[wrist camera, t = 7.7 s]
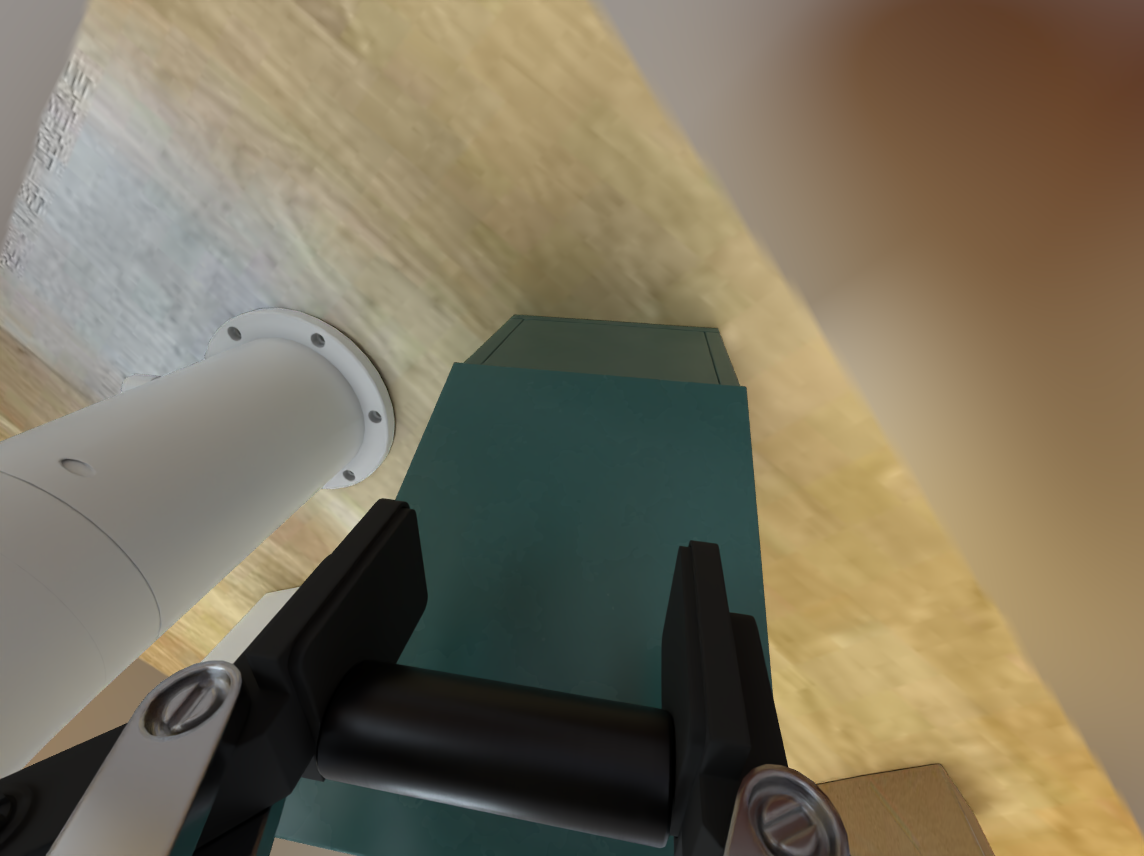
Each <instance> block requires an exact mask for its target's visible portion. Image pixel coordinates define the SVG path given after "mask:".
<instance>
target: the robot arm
mask: <svg viewBox="0 0 1144 856" xmlns="http://www.w3.org/2000/svg"><path fill="white" fill-rule="evenodd" d="M121 391H122V393H120V394H117V395H115V396H112V397H110V398H107V399H105V400H102V401H100V402H97V403H95V404H92V405H90V406H87V407H85V408H82V409H80V410H77V411H75V412H72V413H70V414H67V415H65V416H62V417H60V418H58V419H55V420H53V421H50V422H48V423H45V424H43V425H40V426H38V427H35V428H33V429H30V430H28V431H25V432H23V433H20V434H18V435H15V436H13V437H10V438H8V439H5V440H3V441H0V856H269V855H270V851H271V848H272V845H273V841H274V838H275V835H276V831H277V828H278V824H279V821H280V817H281V814H282V811H283V807H284V804H285V800H286V797H287V796H288V795H290V794H291V793H292V792H293V790H294V788H295V787H296V785H297V783H298V781H299V780H300V778H301V777H302V778H307V779H311V780H316V781H321V782H324V781H325V778H324V777H323V776H322V775H321V774H320V773H319V771H318V768H317V764H316V746H317V739H318V734H319V730H320V726H321V723H322V720H323V717H324V714H325V711H326V709H327V706H328V704H329V702H330V700H331V698H332V696H333V694H334V692H335V690H336V688H337V686H338V685H339V683H340V682H341V680H342V679H343V677H344V676H345V675H346V673H347V672H348V671H349V670H350V669H351V668H352V667H353V666H354V665H356V664H357V663H359V662H361V661H364V660H368V659H371V660H377V661H383V662H389V663H395V664H396V663H397V661H398V659H399V657H400V656H401V654H402V652H403V650H404V648H405V646H406V644H407V643H408V641H409V639H410V637H411V635H412V633H413V631H414V630H415V628H416V626H417V624H418V622H419V620H420V618H421V617H422V615H423V613H424V611H425V608H426V605H427V601H428V592H427V585H426V578H425V571H424V564H423V557H422V550H421V543H420V536H419V529H418V521H417V515H416V511H415V510H414V509H410V506H409V504H408V503H407V502H405V501H398V500H391V499H383V498H382V499H379V500H378V501H377V502H376V503H375V504H374V505H373V506H372V508H371V509H370V510H369V511H368V512H367V513H366V514H365V516H364V517H363V518H362V519H361V520H360V521H359V523H358V524H357V525H356V526H355V527H354V528H353V529H352V531H351V532H350V533H349V534H348V535H347V536H346V538H345V539H344V540H343V541H342V542H341V543H340V544H339V546H338V547H337V548H336V549H335V550H334V551H333V553H332V554H330V555H329V556H327V557H326V558H325V559H324V560H323V561H322V562H321V563H320V565H319V566H318V567H317V568H316V569H315V570H314V571H313V573H312V574H311V575H310V576H309V577H308V578H307V579H306V581H305V582H304V583H303V584H302V585H301V586H300V587H299V589H298V590H297V591H296V592H295V593H294V594H293V595H292V597H291V598H290V599H289V600H288V601H287V602H286V603H285V605H284V606H283V607H282V608H281V609H280V610H279V611H278V613H277V614H276V615H275V616H274V617H273V618H272V619H271V621H270V622H269V623H268V624H267V625H266V626H265V627H264V629H263V630H262V631H261V632H260V633H259V634H258V635H257V637H256V638H255V639H254V640H253V641H252V642H251V644H250V645H249V646H248V647H247V648H246V649H245V650H244V652H243V653H242V654H241V655H240V656H239V657H238V658H237V660H236V661H235V662H234V663H233V664H232V663H229V662H226V661H206V662H201V663H197V664H194V665H191V666H189V667H187V668H184V669H182V670H180V671H178V672H176V673H175V674H173V675H171V676H170V677H168V678H167V679H165V680H164V681H162V682H161V683H160V684H159V685H157V686H156V687H155V688H154V689H153V690H152V691H151V692H150V693H148V694H147V696H146V697H145V699H144V700H143V701H142V702H141V704H140V705H139V706H138V707H137V709H136V710H135V712H134V714H133V715H132V717H131V719H130V720H129V722H128V723H126V724H124V725H122V726H119V727H117V728H115V729H113V730H110V731H108V732H106V733H103V734H101V735H99V736H97V737H94V738H92V739H90V740H88V741H85V742H83V743H81V744H79V745H76V746H74V747H72V748H69V749H67V750H65V751H63V752H60V753H58V754H56V755H54V756H51V757H49V758H47V759H45V760H42V761H40V762H38V763H35V764H33V765H31V766H29V767H27V768H24V769H22V768H23V767H24V766H25V765H26V764H27V763H28V762H29V761H30V760H31V759H32V758H33V757H34V756H35V755H36V754H37V753H38V752H39V751H40V750H41V749H42V748H43V747H44V746H45V745H46V744H47V743H48V742H49V741H50V740H51V739H52V738H53V737H54V736H55V735H56V734H57V733H58V732H59V731H60V730H61V729H62V728H63V727H64V726H65V725H66V724H68V723H69V722H70V721H71V720H72V719H73V718H74V717H75V716H76V715H77V714H78V713H79V712H80V711H81V710H82V709H83V708H84V707H85V706H86V705H87V704H88V703H89V702H91V701H92V700H93V699H94V698H95V697H96V696H97V695H98V694H99V693H100V692H101V691H102V690H103V689H104V688H105V687H106V686H107V685H109V684H110V683H111V682H112V681H113V680H114V679H115V678H116V677H117V676H118V675H119V674H120V673H121V672H123V671H124V670H125V669H126V668H127V667H128V666H129V665H130V664H131V663H132V662H133V661H134V660H136V659H137V658H138V657H139V656H140V655H141V654H142V653H143V652H144V651H145V650H146V649H147V648H149V647H150V646H151V645H152V644H153V643H154V642H155V641H156V640H157V639H158V638H159V637H160V636H162V635H163V634H164V633H165V632H166V631H167V630H168V629H169V628H170V627H171V626H172V625H173V624H175V623H176V622H177V621H178V620H179V619H180V618H181V617H182V616H183V615H184V614H185V613H186V612H188V611H189V610H190V609H191V608H192V607H193V606H194V605H195V604H196V603H197V602H198V601H199V600H201V599H202V598H203V597H204V596H205V595H206V594H207V593H208V592H209V591H210V590H211V589H212V588H214V587H215V586H216V585H217V584H218V583H219V582H220V581H221V580H222V579H223V578H224V577H225V576H227V575H228V574H229V573H230V572H231V571H232V570H233V569H234V568H235V567H236V566H237V565H239V564H240V563H241V562H242V561H243V560H244V559H245V558H246V557H247V556H248V555H249V554H250V553H252V552H253V551H254V550H255V549H256V548H257V547H258V546H259V545H260V544H261V543H262V542H263V541H265V540H266V539H267V538H268V537H269V536H270V535H271V534H272V533H273V532H274V531H275V530H276V529H278V528H279V527H280V526H281V525H282V524H283V523H284V522H285V521H286V520H287V519H288V518H289V517H291V516H292V515H293V514H294V513H295V512H296V511H297V510H298V509H299V508H300V507H301V506H302V505H304V504H305V503H306V502H307V501H308V500H309V499H310V498H311V497H312V496H313V495H314V494H315V493H317V492H318V491H319V490H320V489H338V488H344V487H349V486H351V485H354V484H357V483H359V482H361V481H363V480H364V479H365V478H367V477H368V476H370V475H371V474H372V473H373V472H374V471H375V470H376V469H377V468H378V467H379V466H380V465H381V464H382V462H383V461H384V459H385V458H386V456H387V455H388V453H389V451H390V448H391V445H392V442H393V438H394V427H395V422H394V413H393V407H392V403H391V400H390V397H389V394H388V391H387V389H386V387H385V385H384V383H383V381H382V379H381V377H380V375H379V373H378V371H377V370H376V369H375V367H374V366H373V364H372V363H371V362H370V360H369V359H368V357H367V356H366V355H365V354H364V353H363V352H362V351H361V350H360V349H359V348H358V347H357V346H356V345H355V344H354V343H353V342H352V341H351V340H350V339H349V338H347V337H346V336H345V335H343V334H342V333H341V332H340V331H338V330H337V329H336V328H334V327H332V326H331V325H329V324H327V323H325V322H323V321H322V320H320V319H318V318H316V317H313V316H310V315H308V314H305V313H302V312H299V311H295V310H289V309H284V308H261V309H258V310H254V311H251V312H247V313H244V314H241V315H239V316H236V317H234V318H232V319H229V320H228V321H227V322H226V323H224V324H223V325H222V326H221V327H220V328H218V329H217V331H216V332H215V334H214V335H213V337H212V338H211V340H210V341H209V344H208V347H207V350H206V353H205V359H204V360H202V361H199V362H197V363H194V364H192V365H189V366H187V367H184V368H182V369H179V370H177V371H174V372H172V373H169V374H167V375H164V376H154V375H143V374H133V375H130V376H128V377H127V378H126V379H125V380H124V381H123V383H122V387H121ZM661 702H662V709H665V710H667V711H668V712H670V715H671V718H672V722H673V730H674V756H675V759H674V795H673V810H672V820H671V828H670V834H669V835H671V836H674V856H851V855H850V850H849V842H848V834H847V832H846V829H845V827H844V824H843V822H842V819H841V816H840V814H839V813H838V811H837V810H836V808H835V806H834V805H833V803H832V802H831V800H830V799H829V797H828V796H827V795H826V794H825V793H824V792H823V791H822V790H821V789H820V788H819V787H818V786H817V785H816V784H815V783H814V782H813V781H812V780H810V779H809V778H807V777H806V776H804V775H803V774H801V773H800V772H798V771H796V770H793V769H791V768H788V764H787V759H786V755H785V750H784V746H783V741H782V736H781V732H780V727H779V723H778V718H777V713H776V709H775V704H774V700H773V695H772V691H771V686H770V681H769V677H768V672H767V668H766V663H765V659H764V654H763V649H762V645H761V640H760V636H759V631H758V627H757V623H756V620H755V618H754V617H753V616H751V615H746V614H739V613H733V612H729V606H728V600H727V594H726V587H725V581H724V575H723V569H722V563H721V556H720V550H719V546H718V544H716V543H709V542H701V541H694V540H690V542H689V545H688V547H686V546H679V549H678V554H677V559H676V564H675V570H674V575H673V580H672V586H671V591H670V596H669V602H668V607H667V612H666V617H665V623H664V628H663V634H662V645H661ZM21 769H22V770H21Z"/></svg>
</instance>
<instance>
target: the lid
mask: <svg viewBox="0 0 1144 856" xmlns="http://www.w3.org/2000/svg"><path fill="white" fill-rule="evenodd" d="M395 500H398V501H405V502H407V503H408V504H409V506H410V509H414V510H415V511H416V515H417V521H418V529H419V536H420V543H421V550H422V557H423V564H424V571H425V578H426V585H427V592H428V601H427V605H426V608H425V611H424V613H423V615H422V617H421V618H420V620H419V622H418V624H417V626H416V628H415V630H414V631H413V633H412V635H411V637H410V639H409V641H408V643H407V644H406V646H405V648H404V650H403V652H402V654H401V656H400V657H399V659H398V661H397V663H396V664H395V663H389V662H383V661H377V660H371V659H368V660H364V661H361V662H359V663H357V664H356V665H354V666H353V667H352V668H351V669H350V670H349V671H348V672H347V673H346V675H345V676H344V677H343V679H342V680H341V682H340V683H339V685H338V686H337V688H336V690H335V692H334V694H333V696H332V698H331V700H330V702H329V704H328V706H327V709H326V711H325V714H324V717H323V720H322V723H321V726H320V730H319V734H318V739H317V746H316V764H317V768H318V771H319V773H320V774H321V775H322V776H323V777H324V778H325V781H324V782H321V781H316V780H311V779H307V778H302V777H301V778H300V780H299V781H298V783H297V785H296V787H295V788H294V790H293V792H292V793H291V794H290V795H288V796H287V797H286V800H285V804H284V807H283V811H282V814H281V817H280V821H279V824H278V828H277V831H276V835H275V837H276V838H280V839H285V840H289V841H294V842H298V843H303V844H307V845H311V846H316V847H320V848H325V849H329V850H334V851H338V852H342V853H347V854H351V855H356V856H674V836H671V835H669V834H670V828H671V820H672V810H673V795H674V759H675V756H674V730H673V722H672V718H671V715H670V712H668V711H667V710H665V709H662V702H661V645H662V634H663V628H664V623H665V617H666V612H667V607H668V602H669V596H670V591H671V586H672V580H673V575H674V570H675V564H676V559H677V554H678V549H679V546H686V547H688V545H689V542H690V540H694V541H701V542H709V543H716V544H718V546H719V550H720V556H721V563H722V569H723V575H724V581H725V587H726V594H727V600H728V606H729V612H733V613H739V614H746V615H751V616H753V617H754V618H755V620H756V623H757V627H758V631H759V636H760V640H761V645H762V649H763V654H764V659H765V663H766V668H767V672H768V677H769V681H770V686H771V691H772V695H773V690H772V678H771V666H770V655H769V643H768V632H767V620H766V608H765V597H764V585H763V573H762V562H761V550H760V538H759V527H758V515H757V504H756V492H755V480H754V469H753V457H752V445H751V434H750V422H749V410H748V399H747V388H746V387H745V386H734V385H722V384H710V383H698V382H686V381H674V380H662V379H650V378H638V377H626V376H614V375H602V374H589V373H577V372H565V371H553V370H541V369H529V368H517V367H505V366H493V365H481V364H469V363H457V362H455V363H454V364H453V366H452V369H451V371H450V373H449V376H448V378H447V380H446V383H445V385H444V387H443V390H442V392H441V394H440V397H439V399H438V401H437V404H436V406H435V408H434V411H433V413H432V415H431V418H430V420H429V422H428V425H427V427H426V429H425V432H424V434H423V436H422V439H421V441H420V443H419V446H418V448H417V450H416V453H415V455H414V457H413V460H412V462H411V464H410V467H409V469H408V471H407V474H406V476H405V478H404V481H403V483H402V485H401V488H400V490H399V492H398V495H397V497H396V499H395Z"/></svg>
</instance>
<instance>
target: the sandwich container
mask: <svg viewBox="0 0 1144 856" xmlns="http://www.w3.org/2000/svg"><path fill="white" fill-rule="evenodd" d="M817 786H818V787H819V788H820V789H821V790H822V791H823V792H824V793H825V794H826V795H827V796H828V797H829V799H830V800H831V802H832V803H833V805H834V806H835V808H836V810H837V811H838V813H839V814H840V816H841V819H842V822H843V824H844V827H845V829H846V832H847V834H848V842H849V850H850V855H851V856H995V855H994V853H993V851H992V849H991V847H990V845H989V843H988V841H987V839H986V837H985V835H984V833H983V831H982V829H981V827H980V825H979V823H978V821H977V819H976V817H975V815H974V813H973V812H972V810H971V809H970V807H969V806H968V804H967V803H966V801H965V800H964V798H963V797H962V795H961V793H960V792H959V790H958V789H957V787H956V786H955V785H954V783H953V782H952V780H951V779H950V777H949V776H948V774H947V773H946V771H945V770H944V768H943V767H942V765H941V764H935V765H928V766H922V767H916V768H910V769H904V770H897V771H891V772H885V773H879V774H873V775H866V776H860V777H855V778H850V779H845V780H840V781H834V782H829V783H824V784H819V785H817Z"/></svg>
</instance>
